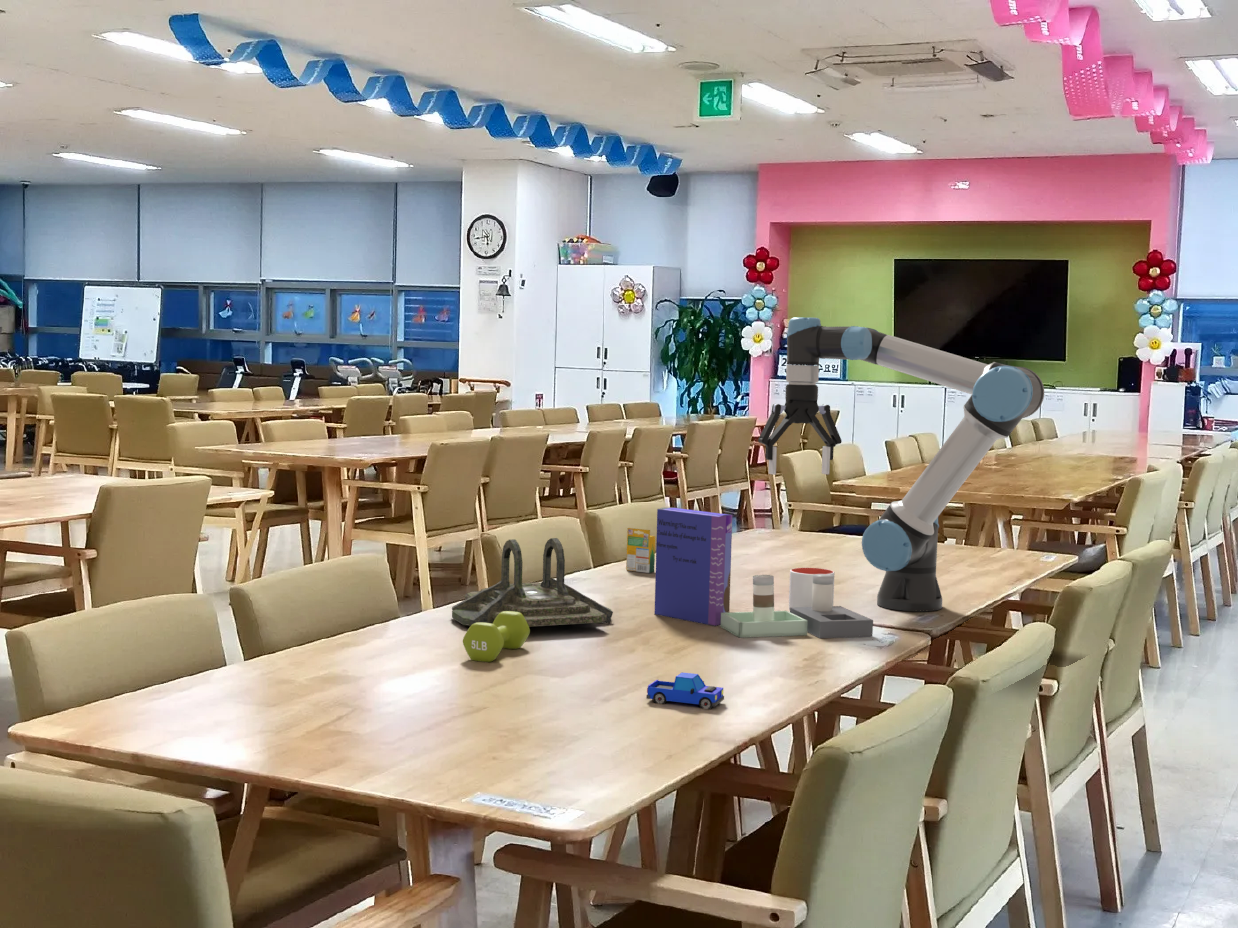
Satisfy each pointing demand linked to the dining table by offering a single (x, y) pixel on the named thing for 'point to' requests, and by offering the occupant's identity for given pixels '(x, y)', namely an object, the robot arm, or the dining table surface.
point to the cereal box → (693, 565)
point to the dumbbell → (495, 636)
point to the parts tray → (763, 624)
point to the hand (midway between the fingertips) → (798, 474)
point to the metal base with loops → (531, 595)
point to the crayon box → (640, 551)
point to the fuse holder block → (831, 614)
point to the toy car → (685, 691)
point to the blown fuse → (763, 598)
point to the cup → (804, 586)
